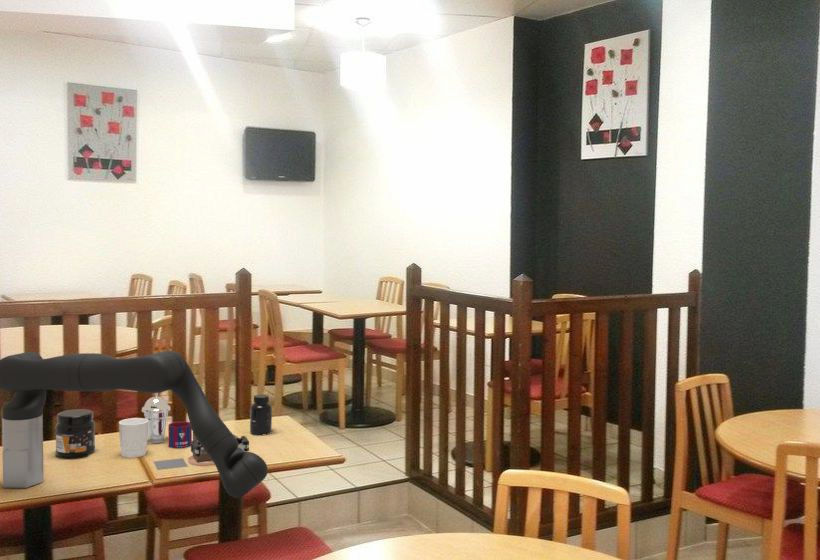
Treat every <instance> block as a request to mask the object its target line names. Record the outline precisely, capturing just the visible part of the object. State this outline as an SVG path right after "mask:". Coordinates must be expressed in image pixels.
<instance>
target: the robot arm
mask: <svg viewBox="0 0 820 560" xmlns="http://www.w3.org/2000/svg"><path fill="white" fill-rule="evenodd" d="M0 390H3V391H5V392H8V393H14V394H13V396H12V398H11V399H10V400H9V401H8V402H7V403H5V405H3V406H2V409H1V412H2V413H1V415H2V416H1V420H2V425H1V426H2V430H1V431H2V453H1V454H2V455H1V457H2V460H1V461H2V488H6V489H7V488H14V489H18V488H19V489H26V488H29V487H32V486H35V485H39V484H40V483H42V482H43V481H44V479H45V477H44V476H45V475H44V474H45V473H44V471H45V470H44V417H43V416H44V415H43V414H44V413H43V410H44V407H45V405H46V400H47V390H50V391H51V390H52V391H64V392H65V391H67V392H107V391H115V390H117V391H118V390H120V391H121V390H123V391H124V390H125V391H133V392H140V393H148V394H155V393H158V394H160V393H163V392H167V391H169V390H170V391H171V392H173V393H174V395H175V396H176V397H178V399H179V400H180V401H181V402H182V405H183V406H184V408H185V410H186V414H187V417H188V422H190V425H191V428H192V434H193V433H194V435H195V437H196V439H195V441H193V440H192V441H191V446H190V452H191V453H192V455H193V454H194V455H195V456H197V457H199V456H200V455H201V453H206V454H208V455H209V456H210V457H211V459H212V461H213V462H214V464H215V465H214V466H215V467H216V469H217V472H218V475H219V477H220V480H221V483H222V486H223V488H224V490H225V492H226V493H227V494H228V495H229V497H232V498H234V499H241V498H243V497H244V496H246V495H247V494H248V493H249V492H250V491H251V490H253V489H254V488H256V486H258V485H259V484H260V483H261V482H262V481H264V480H265V478H266V477H267V476H268V471H269V470H268V469H269V468H268V465H267V463H266V461H265V460H264V459H263V457H261V456H260V455H258V454H257V453H254V452H252V451H250V441H249V439H248V438H247V436H245V435H242V436H240V437H239V436H238V435H235V434H234V433H232V431H231V430H230V429H229V427H228V426H227V425H226V424H225V423H224V421H223V420H222V418H220V416H219V415H218V414H217V413H218V412H216V410H215V409H214V408H213V406H212V405H211V403H210V401H209V400H208V399H209V398H207V396H206V394H205V392H204V391H203V389H202V387H201V386H200V384H199V382H198V380H197V378H196V376H195V374H194V373H193V371H192V369H191V367H190V366H189V364H188V362H187V360H186V359H185V358H184V357H183V356H182V354H180V353H179V352H178V351H174V350H164V351H161V352H156V353H151V354H147V355H145V356H138V357H130V358H116V357H113V356H111V355H107V354H104V353H93V352H92V353H90V352H89V353H88V352H87V353H83V352H82V353H73V354H65V355H58V356H53V357H48V358H43V357H42V356H41V354H38V353H37V352H33V351H28V352H27V351H26V352H22V353H16V354H12V355H7V356H4V357H3V358H0Z"/></svg>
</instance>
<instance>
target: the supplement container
mask: <svg viewBox="0 0 820 560" xmlns="http://www.w3.org/2000/svg"><path fill="white" fill-rule="evenodd" d="M93 419H94V412H93V410H90V409H85V408H81V409H80V408H78V409H67V410H63V411H60V412H57V414H56V422H57V423H56V424H55V425H54V426H55V427H54V428H55V455H57V456H58V457H60V458H64V459H79V458H78V457H80V458H84V456H85V457H88V456H89V455H91V454H93V453H94V452H95V450H96V433H95V428H96V422H95V421H94V420H93ZM87 455H88V456H87Z"/></svg>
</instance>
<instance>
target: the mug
mask: <svg viewBox="0 0 820 560" xmlns="http://www.w3.org/2000/svg"><path fill="white" fill-rule="evenodd" d="M191 441H193V431H192V428H191V425H190V421H173V422H171V423H169V424H168V448H171V449H186V448H189V447H190V448H191Z"/></svg>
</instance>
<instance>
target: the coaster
mask: <svg viewBox="0 0 820 560" xmlns="http://www.w3.org/2000/svg"><path fill="white" fill-rule="evenodd" d="M152 463H153V464H154V466H155V468H156V470H157V471H159V470H160V471H161V470H168V469H170V470H171V469H175V468H176V469H178V468H186V467H189V466H188V464H187V462H186V461H185V459H184V458H183V457H182V458H181V457H180V458H173V459H163V460H156V461H155V460H153V462H152Z"/></svg>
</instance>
